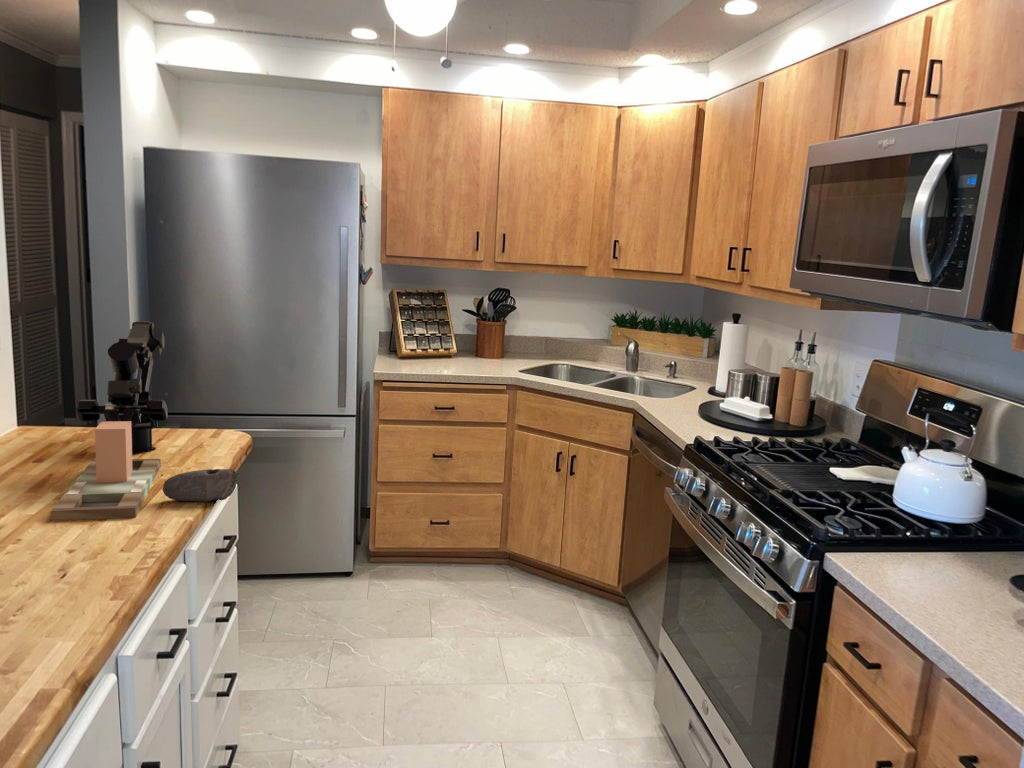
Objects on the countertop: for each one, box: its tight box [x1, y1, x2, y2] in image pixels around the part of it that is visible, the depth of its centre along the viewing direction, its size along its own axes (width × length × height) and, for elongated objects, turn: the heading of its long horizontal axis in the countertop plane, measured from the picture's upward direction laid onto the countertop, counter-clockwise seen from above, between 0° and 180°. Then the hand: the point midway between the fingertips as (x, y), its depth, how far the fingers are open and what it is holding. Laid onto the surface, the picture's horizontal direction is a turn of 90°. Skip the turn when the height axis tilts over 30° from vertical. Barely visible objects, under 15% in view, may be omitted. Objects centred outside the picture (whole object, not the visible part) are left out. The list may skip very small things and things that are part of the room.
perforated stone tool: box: [162, 468, 238, 503], centre depth 164 cm, size 15×5×7 cm, turn 104°
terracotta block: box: [94, 420, 133, 482], centre depth 168 cm, size 7×6×12 cm
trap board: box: [50, 458, 162, 522], centre depth 166 cm, size 35×15×2 cm, turn 17°
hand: (118, 441), depth 173 cm, fingers closed
